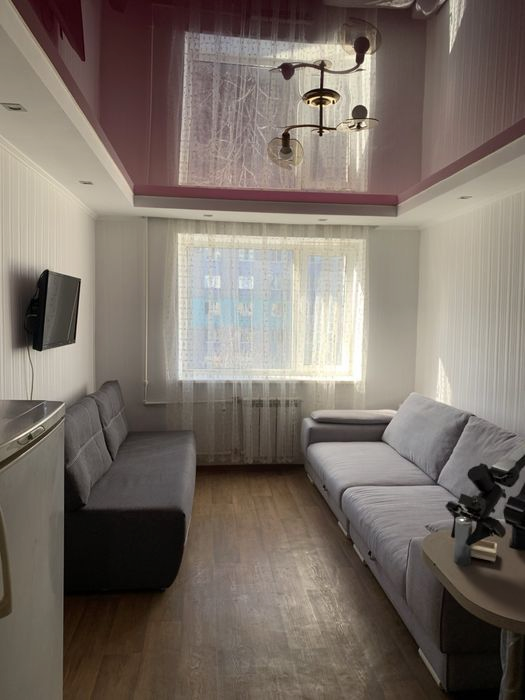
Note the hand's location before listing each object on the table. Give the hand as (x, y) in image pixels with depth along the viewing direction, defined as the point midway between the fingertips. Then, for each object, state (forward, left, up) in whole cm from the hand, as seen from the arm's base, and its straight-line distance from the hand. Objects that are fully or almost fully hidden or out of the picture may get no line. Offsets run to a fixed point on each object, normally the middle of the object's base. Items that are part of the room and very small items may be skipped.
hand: (459, 541), depth 158 cm
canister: (-1, +1, -7) cm, 7 cm away
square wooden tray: (-8, +6, -7) cm, 12 cm away
